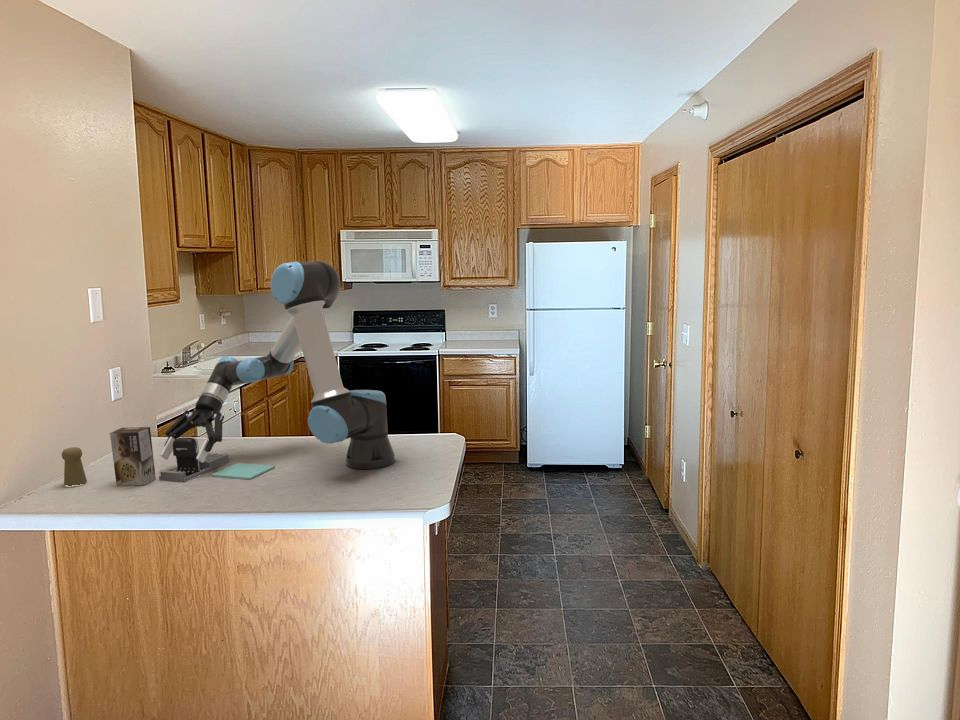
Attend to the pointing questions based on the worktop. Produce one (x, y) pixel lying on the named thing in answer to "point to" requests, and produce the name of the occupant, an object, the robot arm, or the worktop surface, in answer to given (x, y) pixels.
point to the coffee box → (133, 456)
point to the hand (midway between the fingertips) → (181, 459)
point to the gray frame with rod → (208, 464)
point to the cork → (73, 467)
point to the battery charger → (186, 455)
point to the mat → (243, 471)
